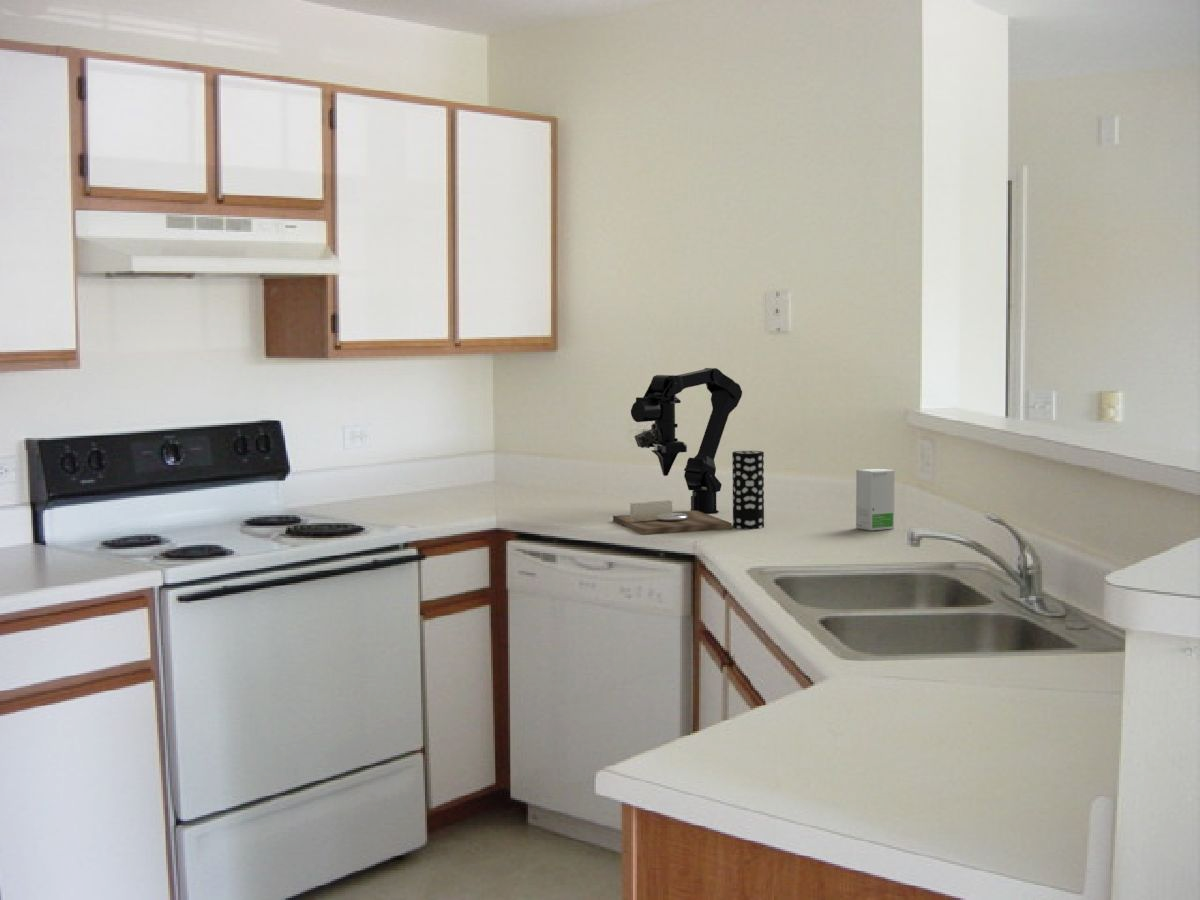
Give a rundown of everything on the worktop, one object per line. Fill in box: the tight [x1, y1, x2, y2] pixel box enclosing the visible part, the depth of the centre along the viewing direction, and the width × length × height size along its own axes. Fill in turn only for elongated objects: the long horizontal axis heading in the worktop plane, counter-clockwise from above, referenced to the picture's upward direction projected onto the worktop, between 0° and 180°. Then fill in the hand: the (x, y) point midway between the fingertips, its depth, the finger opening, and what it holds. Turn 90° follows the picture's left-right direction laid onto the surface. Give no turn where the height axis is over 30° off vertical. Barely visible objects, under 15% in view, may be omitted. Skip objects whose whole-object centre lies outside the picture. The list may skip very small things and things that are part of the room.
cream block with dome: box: [629, 499, 688, 522], centre depth 355 cm, size 16×9×5 cm, turn 111°
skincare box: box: [855, 468, 895, 532], centre depth 344 cm, size 8×7×16 cm
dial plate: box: [612, 510, 733, 536], centre depth 356 cm, size 25×25×2 cm
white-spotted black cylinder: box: [731, 450, 765, 530], centre depth 350 cm, size 8×8×20 cm
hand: (665, 475), depth 368 cm, fingers closed
